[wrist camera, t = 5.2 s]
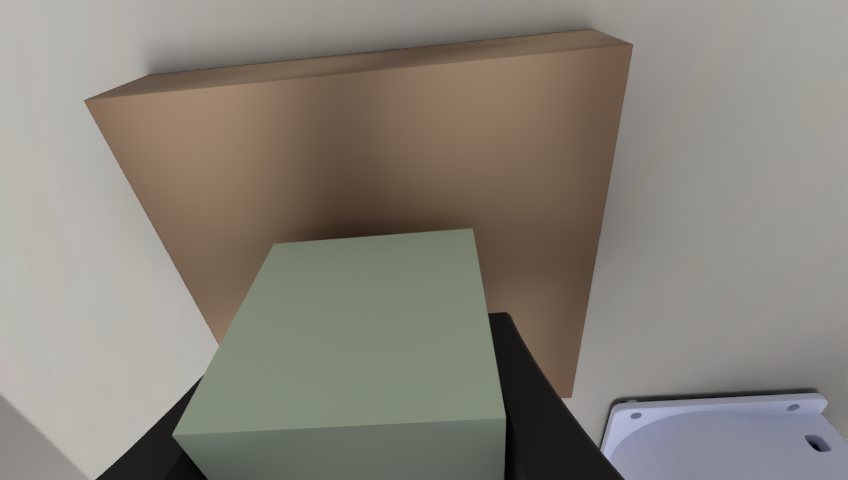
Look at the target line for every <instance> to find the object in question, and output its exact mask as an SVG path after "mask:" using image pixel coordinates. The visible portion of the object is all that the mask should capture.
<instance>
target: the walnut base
mask: <svg viewBox="0 0 848 480" xmlns="http://www.w3.org/2000/svg"><path fill="white" fill-rule="evenodd" d="M632 48H633V44H630V43H628V42H625V41H622V40H620V39H617V38H614V37H612V36H609V35H607V34H604V33H601V32H599V31H596V30H593V29H588V30H578V31H569V32H559V33H549V34H540V35H530V36H520V37H511V38H501V39H492V40H482V41H472V42H463V43H453V44H444V45H434V46H424V47H415V48H405V49H396V50H386V51H376V52H367V53H357V54H348V55H338V56H328V57H319V58H309V59H300V60H290V61H280V62H271V63H261V64H252V65H242V66H232V67H223V68H213V69H204V70H194V71H184V72H175V73H165V74H156V75H147V76H144V77H142V78H139V79H137V80H134V81H132V82H129V83H127V84H124V85H121V86H119V87H116V88H114V89H111V90H109V91H106V92H104V93H101V94H99V95H96V96H93V97H91V98H88V99H86V100H84V102H85V104H86V105H87V107H88V109H89V111H90V113H91V115H92V116H93V118H94V120H95V122H96V124H97V125H98V127H99V129H100V131H101V133H102V134H103V136H104V138H105V140H106V142H107V143H108V145H109V147H110V149H111V151H112V153H113V154H114V156H115V158H116V160H117V162H118V163H119V165H120V167H121V169H122V171H123V172H124V174H125V176H126V178H127V180H128V181H129V183H130V185H131V187H132V189H133V191H134V192H135V194H136V196H137V198H138V200H139V201H140V203H141V205H142V207H143V209H144V210H145V212H146V214H147V216H148V218H149V220H150V221H151V223H152V225H153V227H154V229H155V230H156V232H157V234H158V236H159V238H160V239H161V241H162V243H163V245H164V247H165V248H166V250H167V252H168V254H169V256H170V258H171V259H172V261H173V263H174V265H175V267H176V268H177V270H178V272H179V274H180V276H181V277H182V279H183V281H184V283H185V285H186V287H187V288H188V290H189V292H190V294H191V296H192V297H193V299H194V301H195V303H196V305H197V306H198V308H199V310H200V312H201V314H202V315H203V317H204V319H205V321H206V323H207V325H208V326H209V328H210V330H211V332H212V334H213V335H214V337H215V339H216V341H217V343H218V344H219V346H220V344H221V342H222V340H223V338H224V336H225V335H226V333H227V331H228V329H229V327H230V325H231V323H232V321H233V320H234V318H235V316H236V314H237V312H238V310H239V308H240V306H241V304H242V303H243V301H244V299H245V297H246V295H247V293H248V291H249V289H250V288H251V286H252V284H253V282H254V280H255V278H256V276H257V274H258V273H259V271H260V269H261V267H262V265H263V263H264V261H265V259H266V258H267V256H268V254H269V252H270V250H271V248H272V246H273V244H278V243H291V242H304V241H316V240H329V239H342V238H355V237H368V236H381V235H393V234H406V233H419V232H432V231H445V230H457V229H470V228H473V232H474V238H475V244H476V250H477V255H478V261H479V267H480V272H481V278H482V284H483V289H484V295H485V301H486V307H487V312H488V313H499V312H507V313H508V314H510V315H511V317H512V319H513V322H514V324H515V326H516V328H517V330H518V332H519V333H520V335H521V337H522V339H523V341H524V343H525V344H526V346H527V348H528V349H529V351H530V353H531V354H532V356H533V358H534V359H535V361H536V363H537V364H538V366H539V367H540V369H541V370H542V372H543V373H544V375H545V376H546V378H547V379H548V381H549V382H550V384H551V385H552V387H553V388H554V390H555V391H556V393H557V394H558V396H559V397H560V398H571V397H572V391H573V385H574V380H575V374H576V368H577V362H578V357H579V351H580V345H581V340H582V334H583V328H584V322H585V317H586V311H587V305H588V300H589V294H590V288H591V282H592V277H593V271H594V265H595V260H596V254H597V248H598V242H599V237H600V231H601V225H602V220H603V214H604V208H605V202H606V197H607V191H608V185H609V180H610V174H611V168H612V162H613V157H614V151H615V145H616V140H617V134H618V128H619V122H620V117H621V111H622V105H623V100H624V94H625V88H626V82H627V77H628V71H629V65H630V60H631V54H632Z"/></svg>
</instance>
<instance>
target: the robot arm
mask: <svg viewBox="0 0 848 480" xmlns="http://www.w3.org/2000/svg"><path fill="white" fill-rule="evenodd" d="M488 318H489V324H490V329H491V335H492V341H493V346H494V352H495V358H496V364H497V369H498V375H499V381H500V386H501V392H502V398H503V403H504V409H505V415H506V435H505V465H504V480H848V443H847V442H846V441H845V440H844V439H843V438H842V437H841V435H840V434H839V433H838V432H837V431H836V430H835V429H834V428H833V426H832V425H831V424H830V423H829V422H828V421H827V420H826V418H825V417H824V416H823V415H822V414H821V413H822V411H823V410H824V409H825V408H826V406H827V404H828V402H827V400H826V399H825V398H824V397H823V396H822V395H821V394H819V393H802V394H783V395H765V396H746V397H727V398H708V399H689V400H670V401H651V402H632V403H620V404H617V405H615V406H614V407H613V408H612V410H611V413H610V417H609V421H608V424H607V428H606V432H605V435H604V439H603V443H602V446H601V450H600V449H599V448H598V447H597V446H596V445H595V443H594V442H593V441H592V440H591V438H590V437H589V436H588V434H587V433H586V432H585V431H584V429H583V428H582V427H581V425H580V424H579V423H578V421H577V420H576V419H575V417H574V416H573V415H572V414H571V412H570V411H569V410H568V408H567V407H566V405H565V404H564V403H563V401H562V400H561V398H560V397H559V396H558V394H557V393H556V391H555V390H554V388H553V387H552V385H551V384H550V382H549V381H548V379H547V378H546V376H545V375H544V373H543V372H542V370H541V369H540V367H539V366H538V364H537V363H536V361H535V359H534V358H533V356H532V354H531V353H530V351H529V349H528V348H527V346H526V344H525V343H524V341H523V339H522V337H521V335H520V333H519V332H518V330H517V328H516V326H515V324H514V322H513V319H512V317H511V315H510V314H508V313H507V312H499V313H488ZM203 376H204V375H203ZM203 376H202V377H201V378H200V379H199V380H198V381H197V382H196V383H195V384H194V385H193V386H192V388H191V389H190V390H189V391H188V392H187V393H186V394H185V395H184V396H183V397H182V398H181V399H180V400H179V401H178V402H177V403H176V404H175V405H174V406H173V407H172V408H171V409H170V410H169V411H168V412H167V413H166V414H165V415H164V416H163V417H162V418H161V419H160V420H159V421H158V422H157V423H156V424H155V425H154V426H153V427H152V428H151V429H150V430H149V431H148V432H147V433H146V434H145V435H144V436H143V437H142V438H140V439H139V440H138V441H137V442H136V443H135V444H134V445H133V446H132V447H131V448H130V449H129V450H128V451H127V452H126V453H125V454H124V455H123V456H122V457H120V458H119V459H118V460H117V461H116V462H115V463H114V464H113V465H112V466H111V467H109V468H108V469H107V470H106V471H105V472H104V473H103V474H102V475H100V476H99V477H98V478H97V479H96V480H208V479H207V478H206V476H205V475H204V474H203V473H202V471H201V470H200V469H199V468H198V467H197V465H196V464H195V463H194V462H193V460H192V459H191V458H190V457H189V456H188V454H187V453H186V452H185V451H184V449H183V448H182V447H181V446H180V445H179V443H178V442H177V441H176V440H175V438H174V437H173V436H172V434H173V432H174V430H175V428H176V427H177V425H178V423H179V421H180V419H181V417H182V415H183V413H184V412H185V410H186V408H187V406H188V404H189V402H190V400H191V398H192V396H193V395H194V393H195V391H196V389H197V387H198V385H199V383H200V381H201V380H202V378H203Z"/></svg>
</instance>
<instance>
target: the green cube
mask: <svg viewBox="0 0 848 480" xmlns="http://www.w3.org/2000/svg"><path fill="white" fill-rule="evenodd" d="M505 435H506V415H505V409H504V403H503V398H502V392H501V386H500V381H499V375H498V369H497V364H496V358H495V352H494V346H493V341H492V335H491V329H490V324H489V318H488V312H487V307H486V301H485V295H484V289H483V284H482V278H481V272H480V267H479V261H478V255H477V250H476V244H475V238H474V232H473V228H470V229H457V230H445V231H432V232H419V233H406V234H393V235H381V236H368V237H355V238H342V239H329V240H316V241H304V242H291V243H278V244H273V246H272V248H271V250H270V252H269V254H268V256H267V258H266V259H265V261H264V263H263V265H262V267H261V269H260V271H259V273H258V274H257V276H256V278H255V280H254V282H253V284H252V286H251V288H250V289H249V291H248V293H247V295H246V297H245V299H244V301H243V303H242V304H241V306H240V308H239V310H238V312H237V314H236V316H235V318H234V320H233V321H232V323H231V325H230V327H229V329H228V331H227V333H226V335H225V336H224V338H223V340H222V342H221V344H220V346H219V348H218V350H217V351H216V353H215V355H214V357H213V359H212V361H211V363H210V365H209V366H208V368H207V370H206V372H205V374H204V376H203V378H202V380H201V381H200V383H199V385H198V387H197V389H196V391H195V393H194V395H193V396H192V398H191V400H190V402H189V404H188V406H187V408H186V410H185V412H184V413H183V415H182V417H181V419H180V421H179V423H178V425H177V427H176V428H175V430H174V432H173V434H172V436H173V437H174V438H175V440H176V441H177V442H178V443H179V445H180V446H181V447H182V448H183V449H184V451H185V452H186V453H187V454H188V456H189V457H190V458H191V459H192V460H193V462H194V463H195V464H196V465H197V467H198V468H199V469H200V470H201V471H202V473H203V474H204V475H205V476H206V478H207V479H208V480H504V465H505Z"/></svg>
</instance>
